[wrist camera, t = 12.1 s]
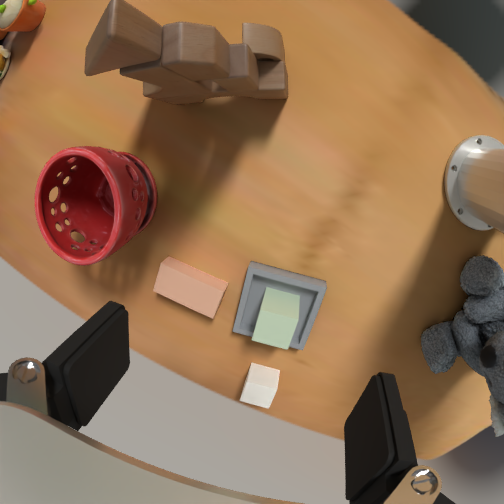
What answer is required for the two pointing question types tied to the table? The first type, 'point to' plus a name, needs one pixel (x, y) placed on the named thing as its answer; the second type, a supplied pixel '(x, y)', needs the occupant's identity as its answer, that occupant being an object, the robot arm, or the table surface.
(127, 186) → the plant pot
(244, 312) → the grey tray
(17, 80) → the table surface
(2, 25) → the toy tea set
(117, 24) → the wooden toy
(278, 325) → the sage block
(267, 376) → the cream cube
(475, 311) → the koala plush
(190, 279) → the terracotta brick
